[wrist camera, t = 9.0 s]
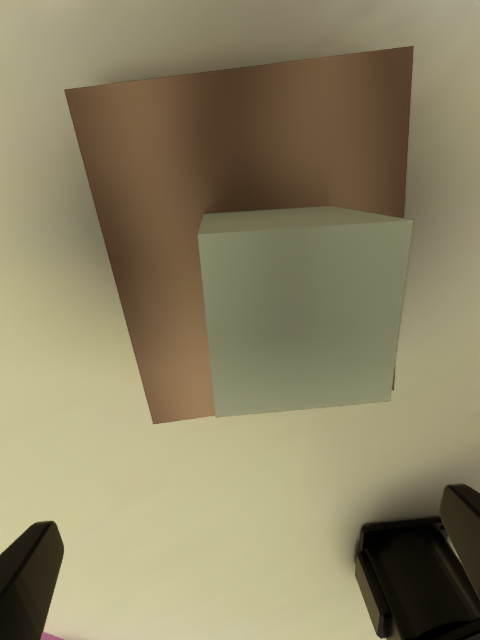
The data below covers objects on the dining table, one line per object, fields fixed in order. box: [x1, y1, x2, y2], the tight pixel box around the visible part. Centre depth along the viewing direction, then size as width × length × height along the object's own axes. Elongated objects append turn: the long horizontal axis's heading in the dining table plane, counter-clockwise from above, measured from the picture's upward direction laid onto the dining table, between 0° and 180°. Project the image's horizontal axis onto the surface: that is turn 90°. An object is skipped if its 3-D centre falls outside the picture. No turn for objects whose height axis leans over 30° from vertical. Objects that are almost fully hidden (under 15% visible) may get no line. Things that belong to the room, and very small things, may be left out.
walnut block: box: [64, 46, 414, 424], centre depth 16 cm, size 12×14×4 cm
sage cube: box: [198, 206, 414, 417], centre depth 11 cm, size 5×5×6 cm
